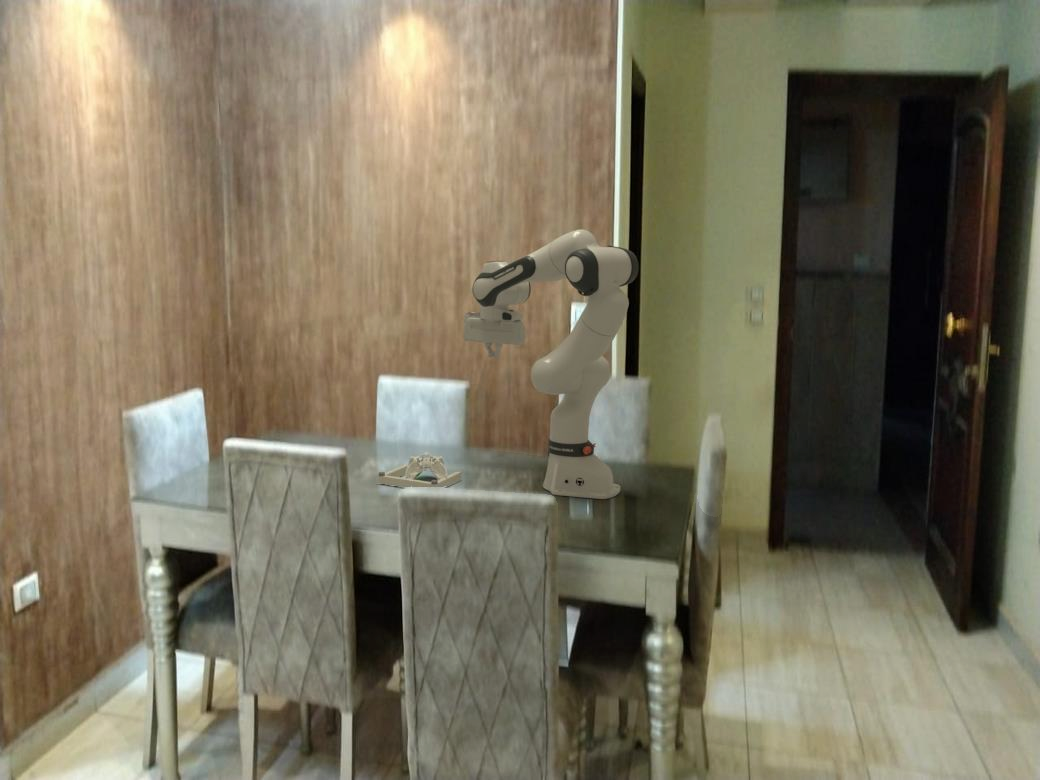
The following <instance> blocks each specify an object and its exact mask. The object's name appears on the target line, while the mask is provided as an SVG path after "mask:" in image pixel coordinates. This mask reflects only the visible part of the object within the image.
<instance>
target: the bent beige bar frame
mask: <svg viewBox="0 0 1040 780" xmlns="http://www.w3.org/2000/svg"><path fill="white" fill-rule="evenodd" d="M407 466H408V463H405V464H404V465H403V464H402V465H401V466H398V467H395V468H393V469H391V470H388V471H386V472H384V471H380V472H378V475H377V479H378V480H377V484H378V483H380V484H379V485H381V484H386V485H385V486H387V485H395V486H399V487H398V488H400V487H401V486H402V488H401V489H404V488H403V487H411V486H412V487H444V486H449V485H451V486H453V485H455V484H456V483H458V482H460V481H462V471H455V472H453V473H451V474H447V477H446V478H445V477H444V478H442V479H440V480H437V479H432V480H431V481H426V480H420V479H415V480H413V479H407V478H406V477H405V478H404V476H405V474H406V470H407ZM403 475H404V476H403ZM400 476H402V477H400ZM452 484H453V485H452ZM449 487H450V486H449Z"/></svg>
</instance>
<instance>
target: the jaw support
mask: <svg viewBox="0 0 1040 780" xmlns="http://www.w3.org/2000/svg"><path fill="white" fill-rule="evenodd" d="M425 456H426V458H424V457H425ZM407 464H408V466H407V470H406V474H405V475H404V477H405V478H407V479H413V480H417V478H418V477H419V476H420V475H421V473H423V472H425V471H428V469H429V471H430V472H431V473H432V475H433V476H434V478H435V479H436V480H437V481H438V480H440V479H442V478H444V477H445V478H446V477H447V476H448V469H447V467H446V465H445V461H444V458H443V456H442V455H439V456H435V455H431V454H430V453H429V452H428V451H424V453H423V454H422V455H418V456H413V455H411V456H410V457H409V461H408V463H407Z"/></svg>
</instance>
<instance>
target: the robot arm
mask: <svg viewBox="0 0 1040 780" xmlns="http://www.w3.org/2000/svg"><path fill="white" fill-rule="evenodd" d="M638 272H639V260H638V257H637V256H636V255H635V253H634V252H632V250H630V249H627V248H623V247H620V246H614V245H607V246H600V245H599V243H598V241H597V239H596V237H595V236H594V234H593V233H591V231H589V230H586V229H582V228H581V229H576V230H573V231H569V232H567V233H565V234H563V235H561V236H559V237H556V239H553V240H552V241H551V242H549V243H547V244H546V245H544V246H542V247H541V248H539V249H536V250H535V251H533V252H531V253H529V254H527V255H525V256H524V257H521V258H519V259H517V260H515V261H513V262H510V263H508V262H507V261H504V260H491V261H487V262H485V263H484V264H483V266H482V268H481V273H479V274H478V276H477V277H476V278H475V279H474V282H473V284H472V289H471V290H472V295H473V297H474V299H475V300H476V301H477V303H478V304H479V307H480V308H479V309H480V311H474V312H473V311H469V312H468V313H466V314H465V315H464V318H463V319H464V321H463V322H464V326H463V335H462V336H463V339H464V341H465V342H475V343H484V347H485V348H486V351H487V357H488V358H493V359H494V358H496V359H497V358H500V351H502V348H503V345H515V346H520V345H523V344H524V343H525V342H526V328H525V323H524V321H522V320H523V319H524V314H523V313H522V312H521V311H518V310H516V309H513V308H511V307H510V305H511V306H512V305H513V306H514V305H521V304H524V303H526V302H527V301H528V299H529V298H530V295H531V292H532V287H531V283H534V282H557V281H560V280H565V279H567V281H568V282H569V284H570V285H571V286H572V287H573V288H574V289H576V290H577V292H578V294H579V295H580V296H583V297H588V300H587V303H586V305H585V306H584V309H583V311H582V313H581V314H580V316H579V317H578V320H577V321H576V323H575V324H574V327H573V328H572V330H570V333H569V334H568V335H567V337H565V338H564V340H562V342H561V343H559V345H558V346H556V348H554V349H553V350H552V351H550V353H548V354H547V355H545V356H544V357H541V358H540V359H537V360H536V361H534V363H533V365H532V367H531V370H530V371H531V372H530V379H531V383H532V385H533V387H534V389H535V390H536V391H537V393H541V394H547V395H556V396H557V395H563V397H562V399H561V401H560V402H559V404H557V405H556V407H554V408H553V409H552V411H551V413H550V422H549V423H550V424H549V438H548V441H547V458H548V460H547V461H548V462H547V468H546V473H545V478H544V481H543V483H542V488H544V489H545V490H547V491H549V492H550V493H551V495H553V496H554V495H555V496H566V497H573V498H574V497H575V498H586V499H587V498H588V499H597V500H607V499H611V498H613V497H616V496H617V495H618V494H620V492H621V486H620V485H619V484H618V483H617V484H616V483H614V477H613V476H614V475H613V473H612V472H613V471H612V469H611V467H610V466H608V465H607V464H606V463H605V462H604V461H602V460H601V458H599V457H598V456H597V455H596V454H594V453H595V448H596V444H597V443H596V442H594V443H592V442H591V441H590V440H589V428H590V427H589V426H590V415H591V411H592V408H593V405H594V403H595V401H596V399H597V396H598V395H599V393H600V391H601V390H602V389H603V388H604V387H605V386H606V385H607V384H608V383H609V380H610V377H611V367H610V363H609V361H608V360H607V358H605V357H604V355H605V354H606V353H607V351H608V349H609V348H610V346H611V344H612V343H613V341H614V340H615V338H616V336H617V335H618V332H619V331H620V328H621V327H622V325H623V323H624V320H625V317H626V316H627V315H626V314H627V312H628V308H629V304H630V302H629V298H628V296H627V294H626V293H625V291H623V290H622V289H621V288H620V287H624V286H627V285H629V284H632V282H633V281H635V279H636V278H637V277H638ZM492 344H495V347H496V349H495V350H493V349H492V346H493V345H492Z"/></svg>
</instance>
